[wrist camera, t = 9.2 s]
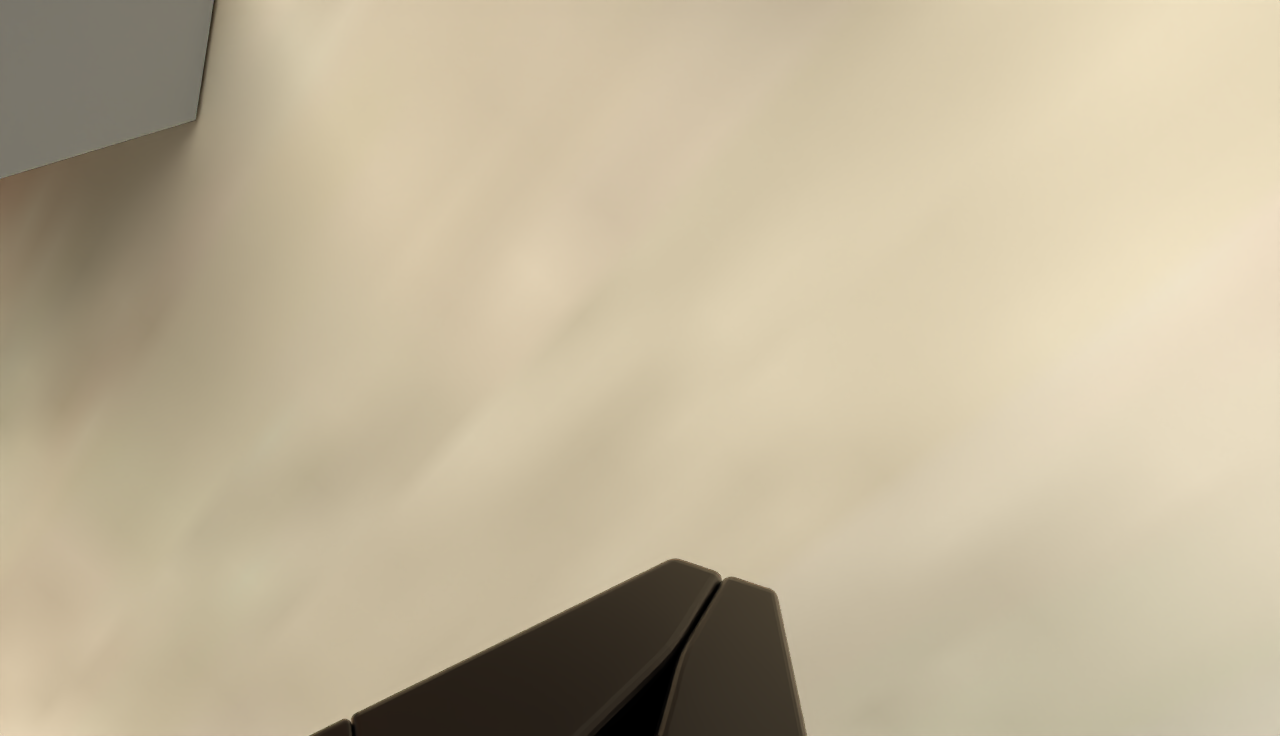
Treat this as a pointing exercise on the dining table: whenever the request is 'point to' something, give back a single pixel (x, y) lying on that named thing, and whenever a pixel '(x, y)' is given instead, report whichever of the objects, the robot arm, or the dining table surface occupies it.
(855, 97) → the dining table surface
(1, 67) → the boxed book
